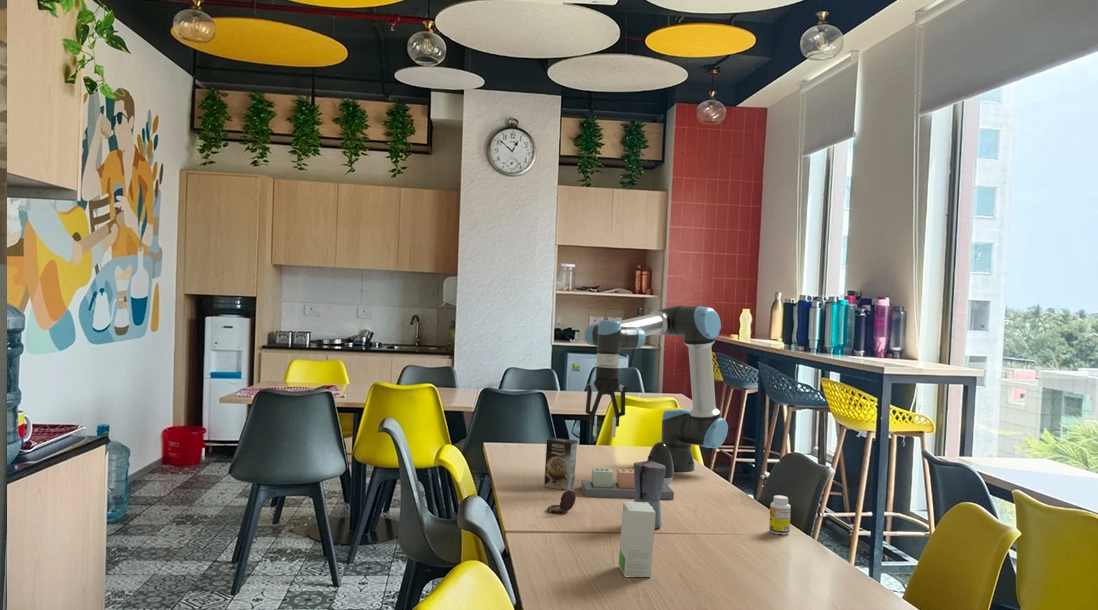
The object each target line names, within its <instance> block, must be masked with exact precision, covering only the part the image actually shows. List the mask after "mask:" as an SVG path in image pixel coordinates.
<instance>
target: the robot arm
mask: <svg viewBox="0 0 1098 610" xmlns="http://www.w3.org/2000/svg"><path fill="white" fill-rule="evenodd" d="M721 323H722V322H721V319H720V316H719V313H717V311H716V310H715V309H714V308H713V307H707V306H700V305H698V306H697V305H695V306H693V305H675V306H670V307H666V308H660V309H658V310H657V309H656V310H654V311H651V312H650V313H649V314H646V315H643V316H642V315H641V316H638V317H637V316H636V317H631V318H628V319H623V320H612V319H611V320H607V319H606V320H605V319H601V320H599V323H595V324H589V325H588V326H587V327H586V328H585V331H584V339H585V342H586V343H587V344H588V345H590V346H594V347H597V350H596V363H595V364H596V365H597V366H596V368H595V380H594V382H592V383H586V385H585V387H586V401H585V402H586V403H585V409H584V410H585V414H587V415H589V416H590V418H589V419H590V421H589V424H590V426H591V427H592V428H593V429H592V436H593V437H597V425H598V424H597V422H598V416H597V415H596V413H597V410H598V408H599V404H600V403H601V399H602V397H603V395H608V396H610V400H611V404H612V407H613V411H614V412H613V413H614V416H612V422H611V423H612V425H611V427H612V428H611V437H613V438H616V430H617V427H618V428H619V426H620V418H621V417H624V416H625V415H626V392H627V389H628V386H627V385H623V384H620V382H619V375H620V374H619V372H620V371H619V365H620V352H621V349H622V350H623V349H624V350H629V349H630V350H635V349H636V350H637V349H641V348H642V347H643V346H644V345H645V342H646V337H647V336H651V335H654V336H677V337H683V338H682V339H683V344H684V345H685V346H686V347H687V348H688V359H689V361H688V363H689V375H690V376H689V377H690V388H691V401H692V408H691V409H689V408H688V409H687V408H685V409H679V408H677V409H665V411H663V413H662V419H661V441H660V442H663V443H665V444H666V445H667V446H668V448H669V450H670V453H671V456H672V461H673V467H674V472H693V471H695V461H694V457H693V452H692V445H693V446H699V447H703V448H706V449H709V448H711V449H716V448H719V447H720V446H722V445H723V444H724V442H725V440H726V438H727V436H728V430H729V426H728V425H729V424H728V423H727V421H726V419H725V418H723V417H722V416H721V410H719V409H718V408H717V404H716V394H715V393H716V392H715V378H714V377H715V376H714V366H713V364H714V363H713V353H712V352H713V351H712V347H713V344H715V342H716V338H718V336H719V335H720V331H721V329H722V324H721ZM594 387H595V389H596V390H597V393H596V398H595V400H594V402H593V405H592V408H591V403H592V393H593V392H592V391H593V390H594ZM618 388H619V391H620V399H619V400H620V402H619V403H620V410H619V406H618V402H617V399H616V394H615V392H616V391H617V390H618Z"/></svg>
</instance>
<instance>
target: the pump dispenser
mask: <svg viewBox="0 0 1098 610" xmlns="http://www.w3.org/2000/svg"><path fill="white" fill-rule="evenodd" d="M649 455H652V456H653V460H652V461H653V462H656V463H659V464H662V465H664V466H665V467H666V472H665V477H664V482H663V483H666V484H667V485H668V486H669V485H670V484H671V483H672V480H673V478H674V476H675V471H674V467H673V461H672V456H671V453H670V450H669V448H668V446H667V445H666V444H665V443H663V442H661V441H659V442H656V443H654V445H653V446H652V448H651V449H650V451H649V454H648V456H649ZM646 461H648V458H647V460H646Z"/></svg>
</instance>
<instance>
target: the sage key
mask: <svg viewBox="0 0 1098 610" xmlns="http://www.w3.org/2000/svg"><path fill="white" fill-rule="evenodd" d="M591 481H592V485H593V486H594V487H612V481H613V470H612V469H611V468H604V467H602V468H601V467H592V468H591Z"/></svg>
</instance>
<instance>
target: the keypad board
mask: <svg viewBox="0 0 1098 610" xmlns="http://www.w3.org/2000/svg"><path fill="white" fill-rule="evenodd" d="M580 484H581V485H580V488H581V490H582V492H584V493H583V495H584V496H585V498H590V497H592V498H611V497H613V498H614V499H615V498H617V499H635V498H636V497H635V488H619V487H618V485H617V480H615V481H614V480H612V487H594V486H593V485H592V479H591V480H589V479H586V480H585V479H581V482H580ZM668 499H669V500H670V501H672V500H673V501H674V499H675V492H674V491H673V489H672V488H671V487H670V486H669V485H667V484H666V483H663V489H662V493H661V494H660V499H659V500H666V501H667V500H668Z"/></svg>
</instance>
